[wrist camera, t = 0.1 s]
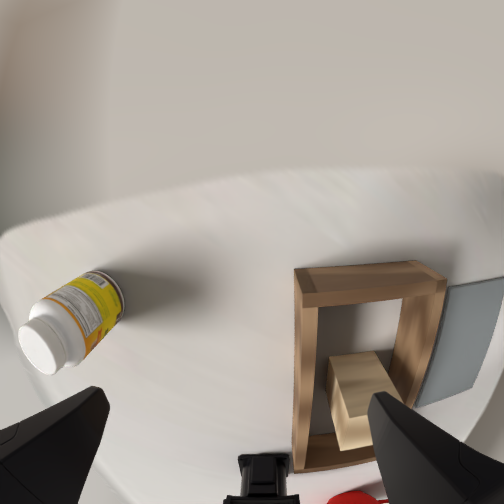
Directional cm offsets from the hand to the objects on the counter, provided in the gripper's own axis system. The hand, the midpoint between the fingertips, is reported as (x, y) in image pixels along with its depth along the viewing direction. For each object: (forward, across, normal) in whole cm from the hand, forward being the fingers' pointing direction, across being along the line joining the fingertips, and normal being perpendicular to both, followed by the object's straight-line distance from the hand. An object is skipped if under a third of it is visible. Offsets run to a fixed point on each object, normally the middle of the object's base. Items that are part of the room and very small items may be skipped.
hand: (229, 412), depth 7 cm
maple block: (+15, -9, +11) cm, 20 cm away
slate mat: (+15, -24, +11) cm, 30 cm away
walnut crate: (+15, -9, +11) cm, 20 cm away
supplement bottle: (+15, +14, +2) cm, 21 cm away
